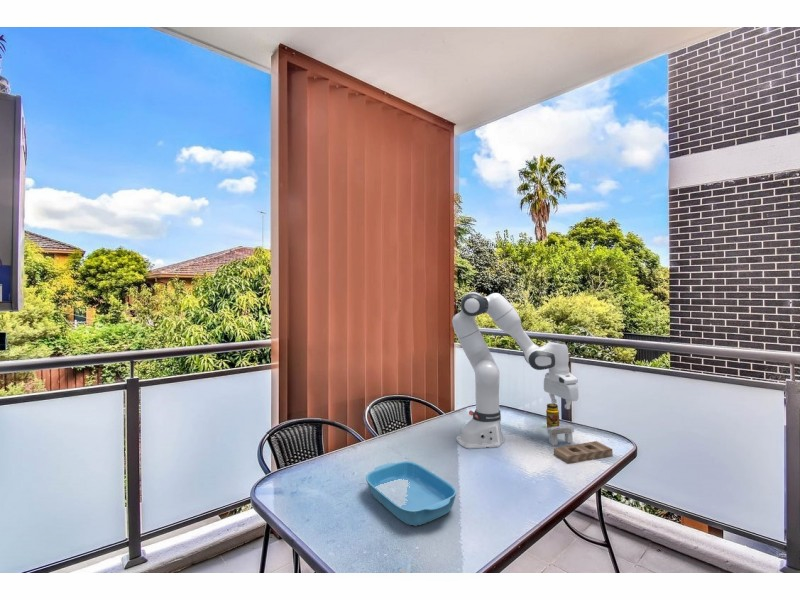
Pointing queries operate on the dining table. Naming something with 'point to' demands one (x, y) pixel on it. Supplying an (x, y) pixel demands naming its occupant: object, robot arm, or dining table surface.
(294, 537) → the dining table surface
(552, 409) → the condiment
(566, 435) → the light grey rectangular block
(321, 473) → the dining table surface
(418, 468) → the casserole dish
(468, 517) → the dining table surface
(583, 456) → the brown wooden block
